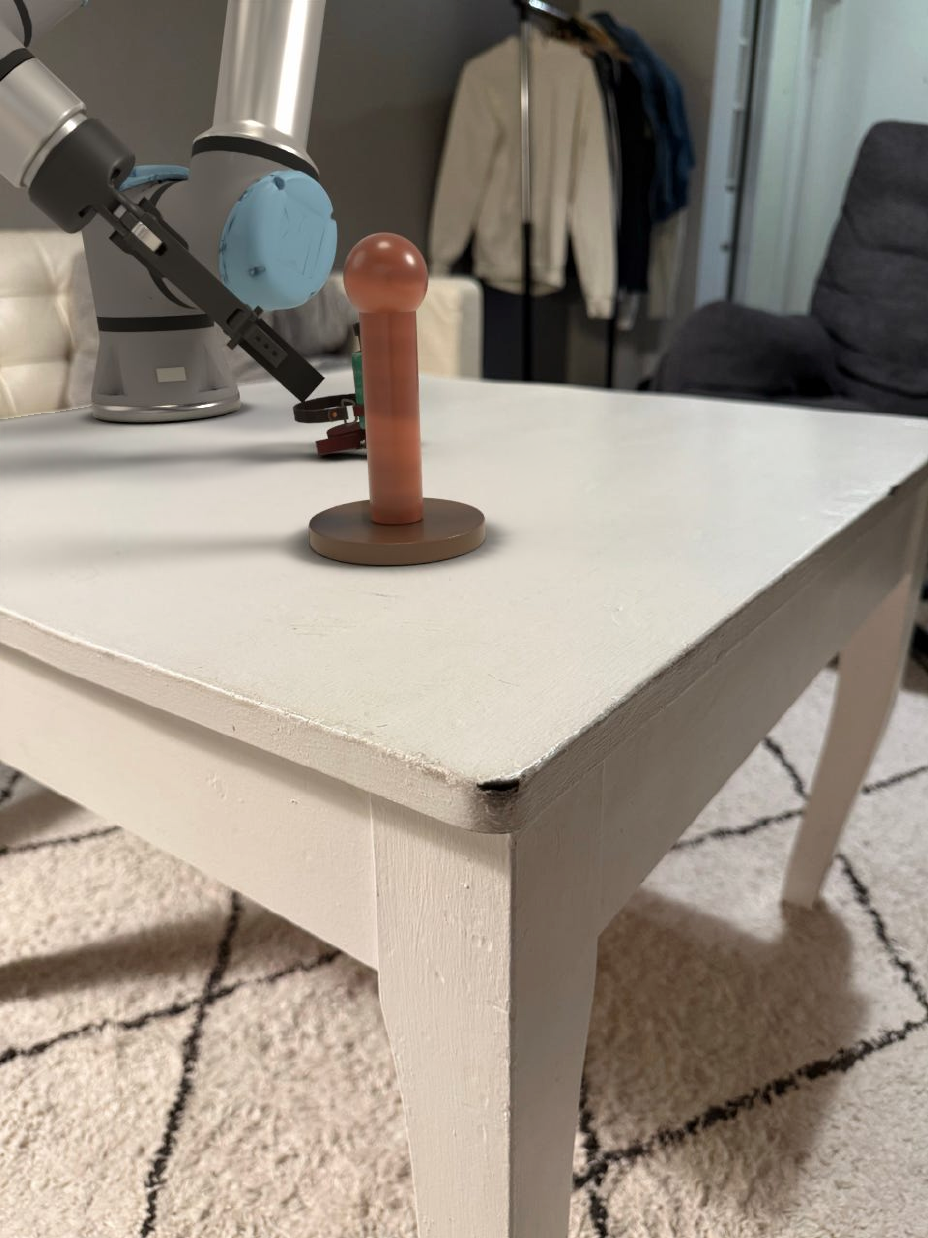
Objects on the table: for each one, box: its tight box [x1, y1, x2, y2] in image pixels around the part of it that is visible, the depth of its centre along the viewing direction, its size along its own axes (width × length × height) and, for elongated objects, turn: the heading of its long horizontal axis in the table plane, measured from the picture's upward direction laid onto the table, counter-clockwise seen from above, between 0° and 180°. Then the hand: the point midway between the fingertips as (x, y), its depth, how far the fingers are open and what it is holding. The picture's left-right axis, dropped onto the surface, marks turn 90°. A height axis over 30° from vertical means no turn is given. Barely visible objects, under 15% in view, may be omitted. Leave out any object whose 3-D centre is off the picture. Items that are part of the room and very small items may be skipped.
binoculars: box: [292, 321, 367, 456], centre depth 75 cm, size 9×11×10 cm
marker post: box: [308, 231, 486, 566], centre depth 49 cm, size 10×10×16 cm
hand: (312, 389), depth 74 cm, fingers closed
